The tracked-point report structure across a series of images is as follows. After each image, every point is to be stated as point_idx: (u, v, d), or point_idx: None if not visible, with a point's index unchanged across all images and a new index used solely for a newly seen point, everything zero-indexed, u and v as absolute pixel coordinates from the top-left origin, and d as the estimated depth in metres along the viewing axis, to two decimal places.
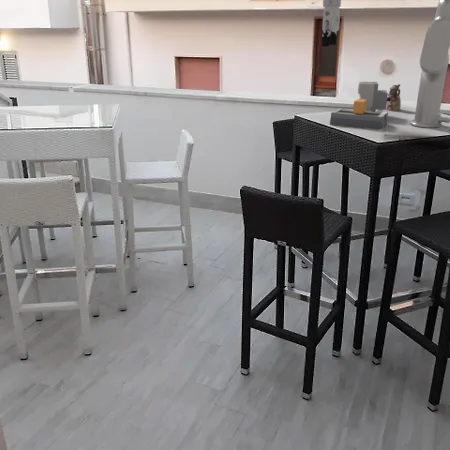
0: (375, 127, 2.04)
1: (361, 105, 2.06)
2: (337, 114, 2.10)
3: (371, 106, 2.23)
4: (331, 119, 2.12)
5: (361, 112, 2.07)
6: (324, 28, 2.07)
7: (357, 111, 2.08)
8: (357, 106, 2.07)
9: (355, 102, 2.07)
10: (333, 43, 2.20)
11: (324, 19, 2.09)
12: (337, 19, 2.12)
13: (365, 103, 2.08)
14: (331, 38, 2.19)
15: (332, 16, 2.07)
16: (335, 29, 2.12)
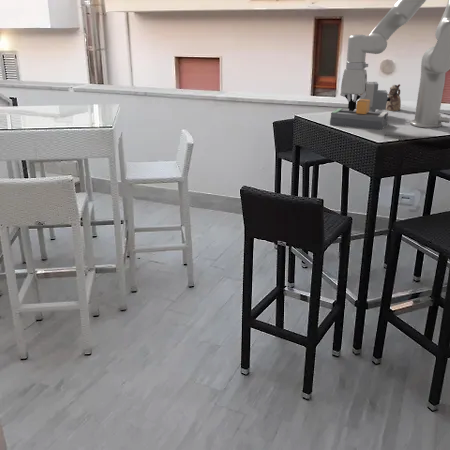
0: (375, 127, 2.04)
1: (364, 105, 2.05)
2: (337, 114, 2.10)
3: (371, 106, 2.23)
4: (331, 119, 2.12)
5: (364, 112, 2.06)
6: None
7: (360, 111, 2.07)
8: (360, 106, 2.06)
9: (358, 102, 2.06)
10: None
11: (364, 82, 2.03)
12: None
13: (368, 103, 2.08)
14: None
15: None
16: None
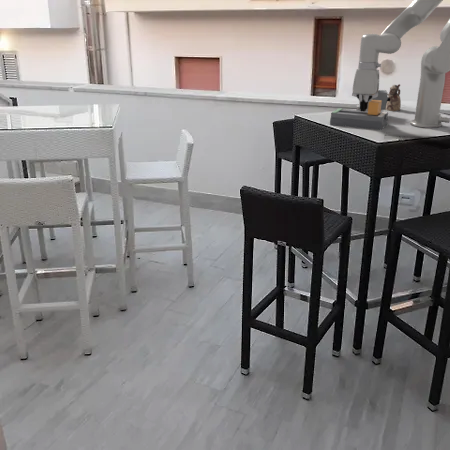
0: (375, 127, 2.04)
1: (376, 106, 2.03)
2: (337, 114, 2.10)
3: None
4: (331, 119, 2.12)
5: (376, 113, 2.04)
6: None
7: (372, 112, 2.05)
8: (372, 107, 2.04)
9: (370, 103, 2.04)
10: None
11: (377, 82, 2.01)
12: None
13: (380, 104, 2.05)
14: None
15: None
16: None
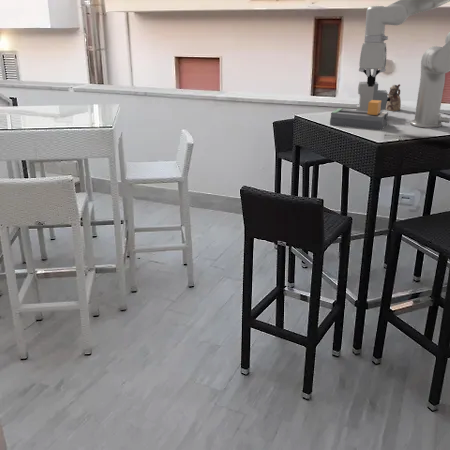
0: (375, 127, 2.04)
1: (376, 106, 2.03)
2: (337, 114, 2.10)
3: None
4: (331, 119, 2.12)
5: (375, 113, 2.04)
6: (383, 71, 2.00)
7: (371, 112, 2.05)
8: (371, 107, 2.04)
9: (369, 103, 2.04)
10: None
11: (384, 56, 1.96)
12: None
13: (379, 104, 2.06)
14: None
15: None
16: None
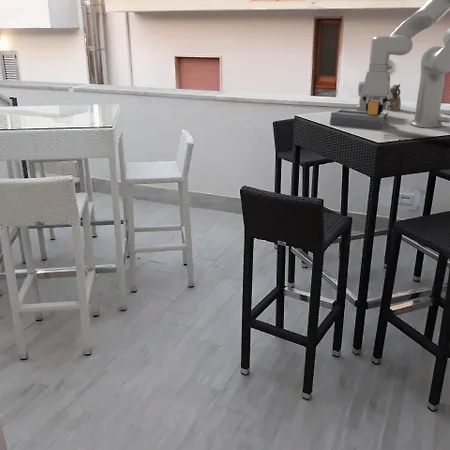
0: (375, 127, 2.04)
1: (375, 106, 2.03)
2: (337, 114, 2.10)
3: None
4: (331, 119, 2.12)
5: (375, 113, 2.04)
6: (390, 98, 2.02)
7: (371, 112, 2.05)
8: (371, 107, 2.04)
9: (369, 103, 2.04)
10: None
11: (388, 85, 1.99)
12: None
13: None
14: None
15: None
16: None
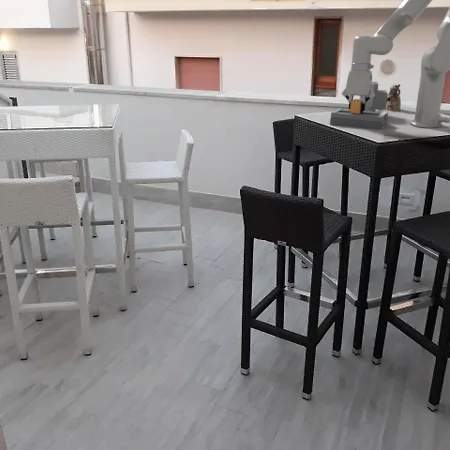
0: (375, 127, 2.04)
1: (358, 105, 2.06)
2: (337, 114, 2.10)
3: (371, 106, 2.23)
4: (331, 119, 2.12)
5: (358, 112, 2.07)
6: None
7: (354, 111, 2.08)
8: (354, 106, 2.07)
9: (352, 102, 2.07)
10: None
11: (370, 84, 2.03)
12: None
13: None
14: None
15: None
16: None
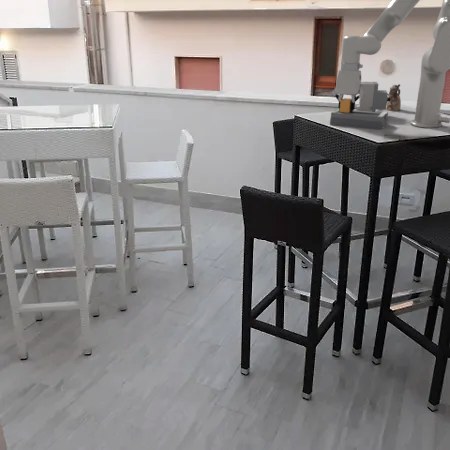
0: (375, 127, 2.04)
1: (347, 104, 2.08)
2: (337, 114, 2.10)
3: (371, 106, 2.23)
4: (331, 119, 2.12)
5: (347, 111, 2.09)
6: None
7: (343, 110, 2.10)
8: (343, 105, 2.09)
9: (341, 101, 2.09)
10: None
11: (359, 83, 2.05)
12: None
13: None
14: None
15: None
16: None
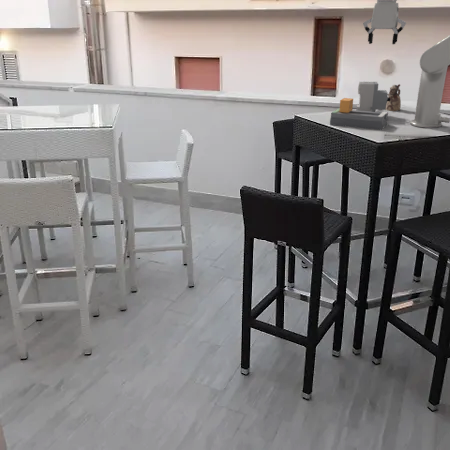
0: (375, 127, 2.04)
1: (347, 104, 2.08)
2: (337, 114, 2.10)
3: (371, 106, 2.23)
4: (331, 119, 2.12)
5: (347, 111, 2.10)
6: None
7: (343, 110, 2.10)
8: (343, 105, 2.09)
9: (341, 101, 2.09)
10: (371, 42, 2.08)
11: (396, 16, 1.98)
12: None
13: (351, 102, 2.11)
14: (371, 37, 2.07)
15: None
16: None
